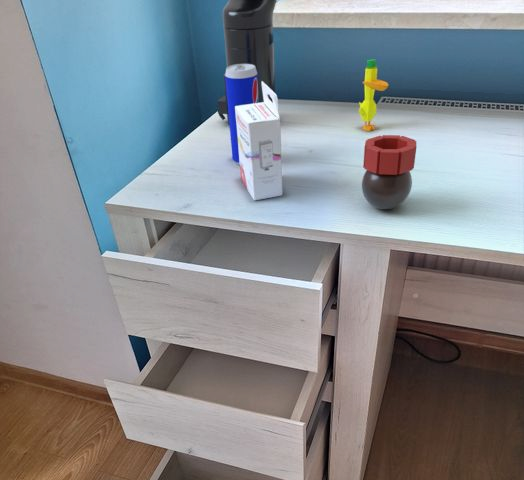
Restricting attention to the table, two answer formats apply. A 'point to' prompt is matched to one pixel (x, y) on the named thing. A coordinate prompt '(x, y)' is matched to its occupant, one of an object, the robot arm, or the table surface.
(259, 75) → the robot arm
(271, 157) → the ink cartridge box
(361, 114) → the toy figure
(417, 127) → the table surface
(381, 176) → the ball
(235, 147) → the beverage can
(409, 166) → the ring
